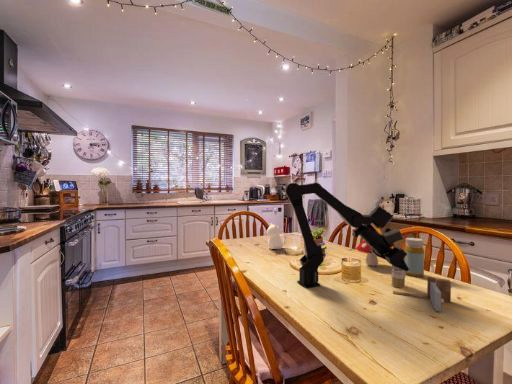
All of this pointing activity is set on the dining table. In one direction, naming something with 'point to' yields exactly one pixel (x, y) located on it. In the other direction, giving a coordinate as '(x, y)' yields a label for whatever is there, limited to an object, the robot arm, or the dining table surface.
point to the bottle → (414, 257)
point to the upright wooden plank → (442, 285)
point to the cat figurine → (275, 237)
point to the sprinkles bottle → (398, 276)
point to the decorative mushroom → (371, 257)
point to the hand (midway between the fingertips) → (402, 266)
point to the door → (435, 296)
